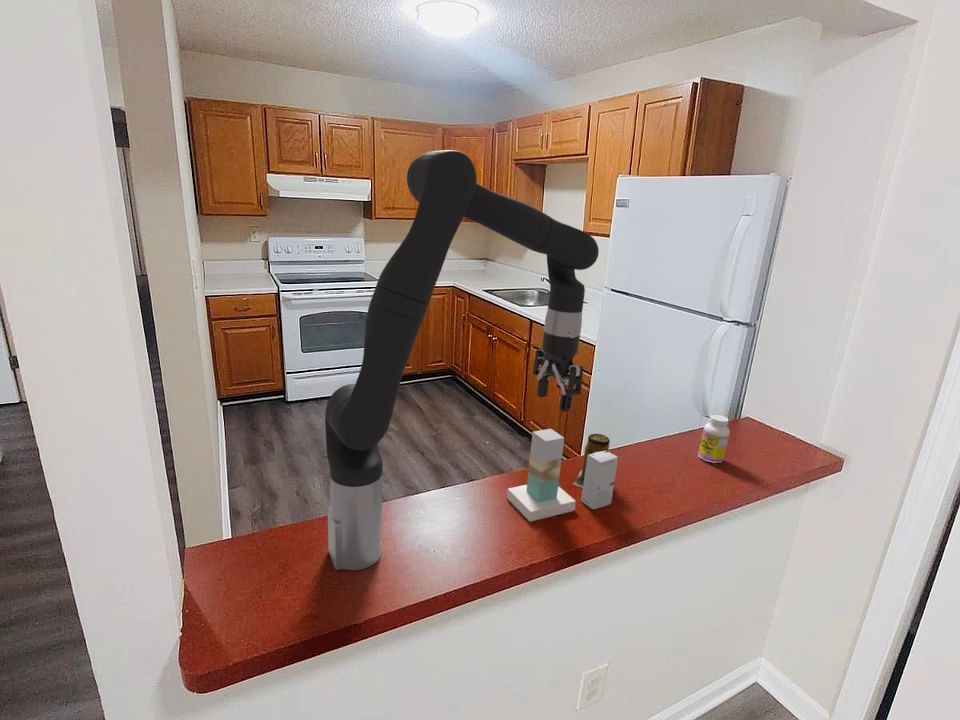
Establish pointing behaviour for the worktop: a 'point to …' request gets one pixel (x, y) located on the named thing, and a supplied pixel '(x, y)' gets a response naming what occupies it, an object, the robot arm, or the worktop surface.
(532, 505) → the baseplate
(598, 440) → the condiment
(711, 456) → the supplement bottle
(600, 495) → the skincare box
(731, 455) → the worktop surface
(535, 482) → the teal block
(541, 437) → the grey block
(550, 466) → the maple block
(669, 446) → the worktop surface
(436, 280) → the robot arm
